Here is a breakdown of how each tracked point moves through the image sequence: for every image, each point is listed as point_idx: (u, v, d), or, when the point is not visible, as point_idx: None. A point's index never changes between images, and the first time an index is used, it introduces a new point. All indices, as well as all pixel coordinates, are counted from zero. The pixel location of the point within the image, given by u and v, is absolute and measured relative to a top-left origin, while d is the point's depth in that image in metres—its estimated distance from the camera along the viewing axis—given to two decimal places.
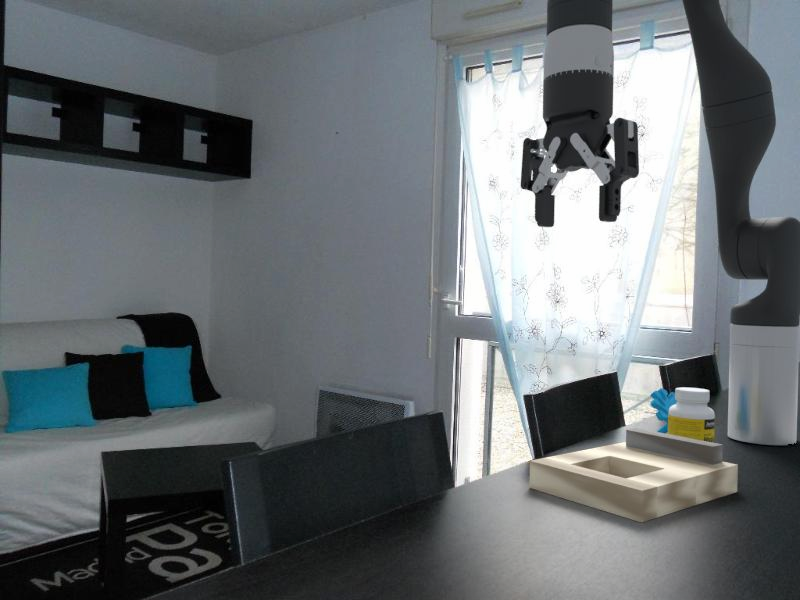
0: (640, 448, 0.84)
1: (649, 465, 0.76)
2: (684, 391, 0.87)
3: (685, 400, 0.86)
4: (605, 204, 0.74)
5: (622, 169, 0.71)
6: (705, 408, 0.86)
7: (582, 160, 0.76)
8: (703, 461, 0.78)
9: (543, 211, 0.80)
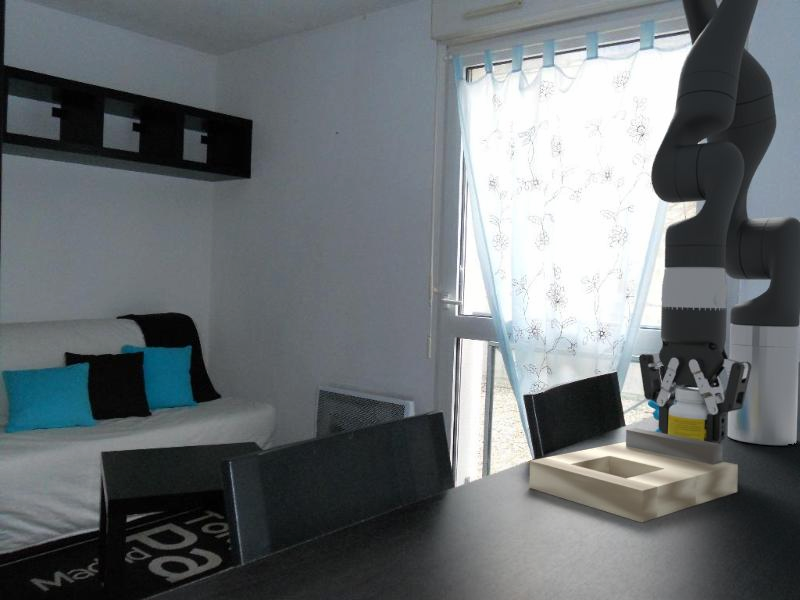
0: (640, 448, 0.84)
1: (649, 465, 0.76)
2: (684, 391, 0.87)
3: (685, 400, 0.86)
4: (712, 431, 0.85)
5: (730, 406, 0.83)
6: (705, 408, 0.86)
7: (695, 382, 0.86)
8: (703, 461, 0.78)
9: (667, 424, 0.89)
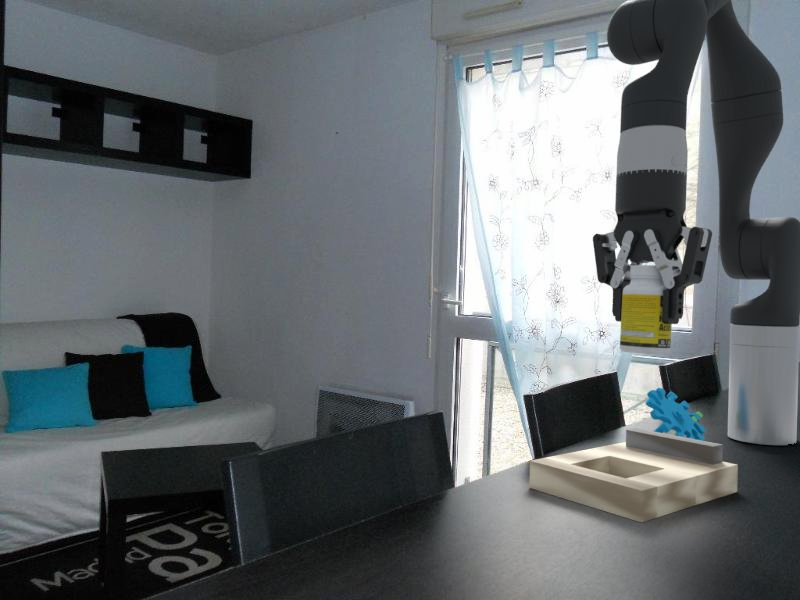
0: (640, 448, 0.84)
1: (649, 465, 0.76)
2: (639, 266, 0.78)
3: (640, 276, 0.78)
4: (669, 308, 0.76)
5: (687, 277, 0.74)
6: (661, 284, 0.78)
7: (651, 256, 0.78)
8: (703, 461, 0.78)
9: (621, 307, 0.81)
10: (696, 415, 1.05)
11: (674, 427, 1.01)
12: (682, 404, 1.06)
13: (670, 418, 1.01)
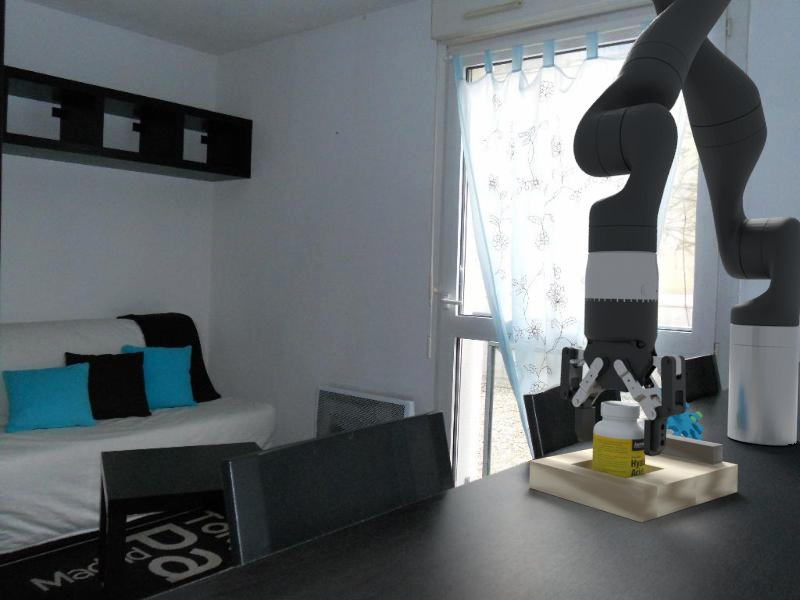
0: None
1: (649, 465, 0.76)
2: (609, 406, 0.74)
3: (610, 417, 0.74)
4: (650, 440, 0.71)
5: (669, 410, 0.69)
6: (633, 426, 0.74)
7: (626, 387, 0.73)
8: (703, 461, 0.78)
9: (584, 427, 0.78)
10: (695, 415, 1.05)
11: (672, 427, 1.01)
12: None
13: (668, 418, 1.02)
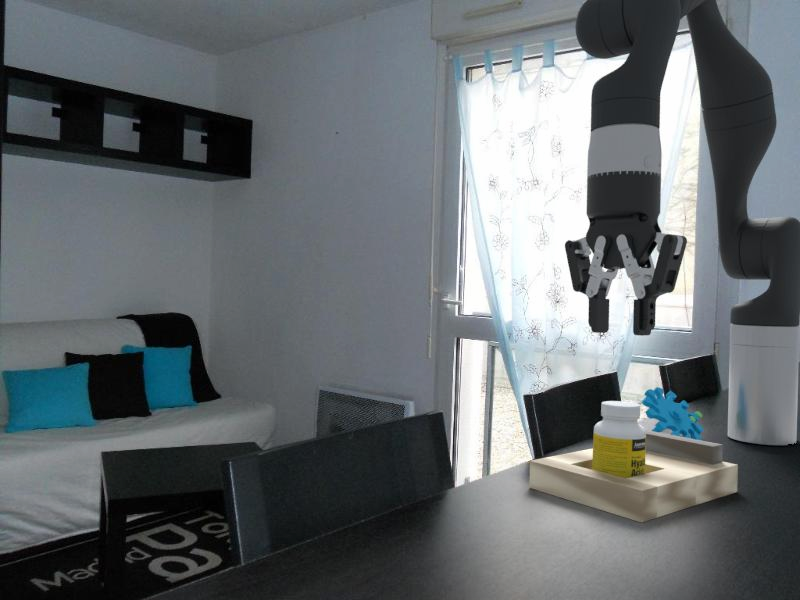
0: None
1: (649, 465, 0.76)
2: (610, 406, 0.74)
3: (611, 417, 0.74)
4: (640, 319, 0.72)
5: (658, 286, 0.70)
6: (633, 426, 0.74)
7: (623, 262, 0.74)
8: (703, 461, 0.78)
9: (598, 317, 0.76)
10: (695, 415, 1.06)
11: (670, 426, 1.01)
12: (681, 404, 1.06)
13: (666, 417, 1.02)
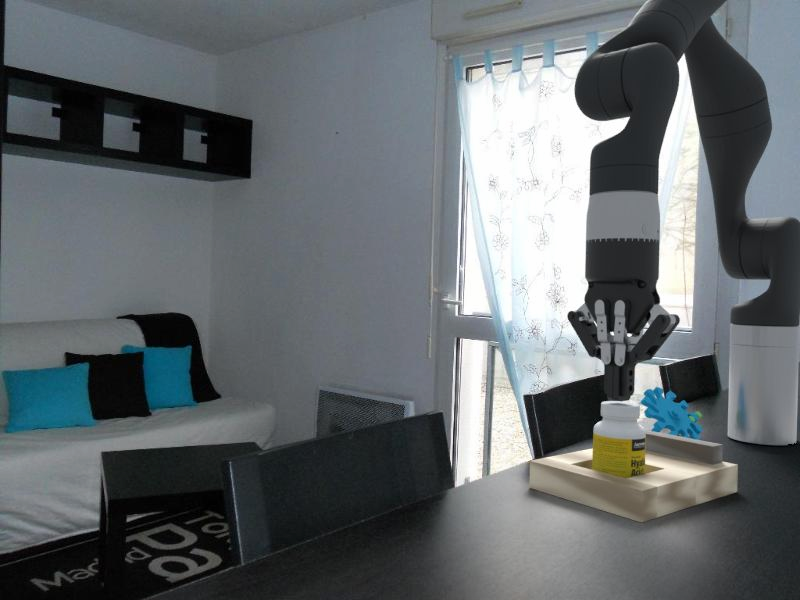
0: None
1: (649, 465, 0.76)
2: (609, 406, 0.74)
3: (610, 417, 0.74)
4: (619, 385, 0.74)
5: (636, 355, 0.72)
6: (633, 426, 0.74)
7: (614, 324, 0.74)
8: (703, 461, 0.78)
9: (614, 385, 0.75)
10: (694, 415, 1.06)
11: (669, 426, 1.02)
12: (680, 403, 1.06)
13: (665, 417, 1.02)
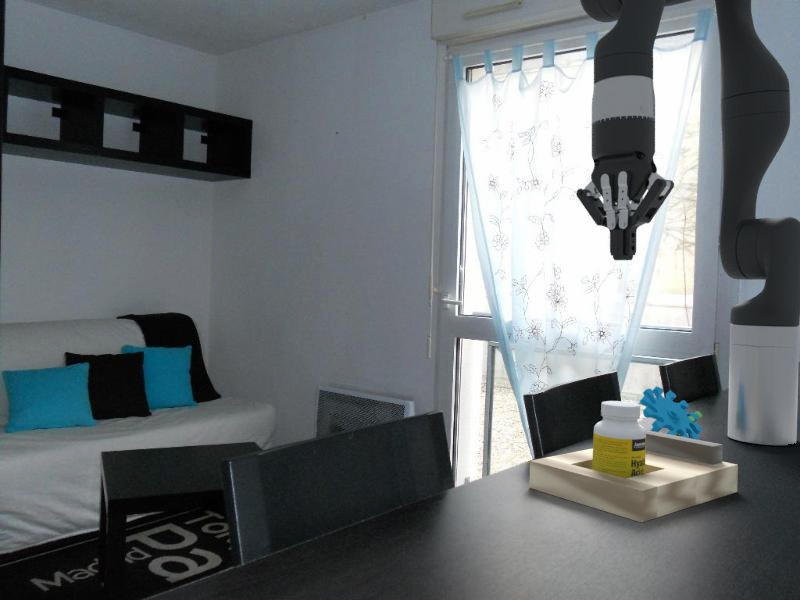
0: None
1: (649, 465, 0.76)
2: (610, 406, 0.74)
3: (611, 417, 0.74)
4: (623, 246, 0.86)
5: (638, 217, 0.84)
6: (633, 426, 0.74)
7: (618, 194, 0.87)
8: (703, 461, 0.78)
9: (618, 246, 0.87)
10: (694, 414, 1.06)
11: (667, 426, 1.02)
12: (680, 403, 1.06)
13: (663, 417, 1.02)
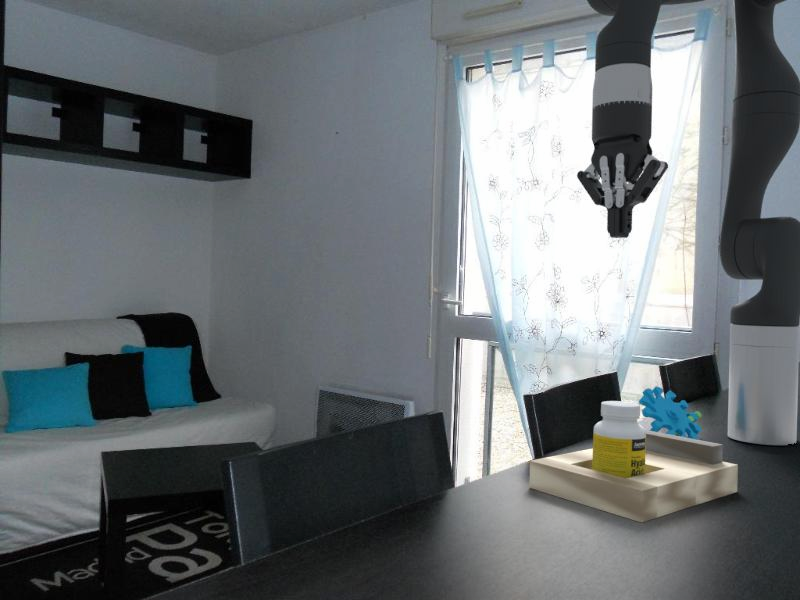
0: None
1: (649, 465, 0.76)
2: (610, 406, 0.74)
3: (610, 417, 0.74)
4: (619, 223, 0.92)
5: (633, 196, 0.90)
6: (633, 426, 0.74)
7: (615, 174, 0.92)
8: (703, 461, 0.78)
9: (615, 224, 0.92)
10: (694, 414, 1.06)
11: (666, 425, 1.02)
12: (680, 403, 1.07)
13: (662, 416, 1.03)
